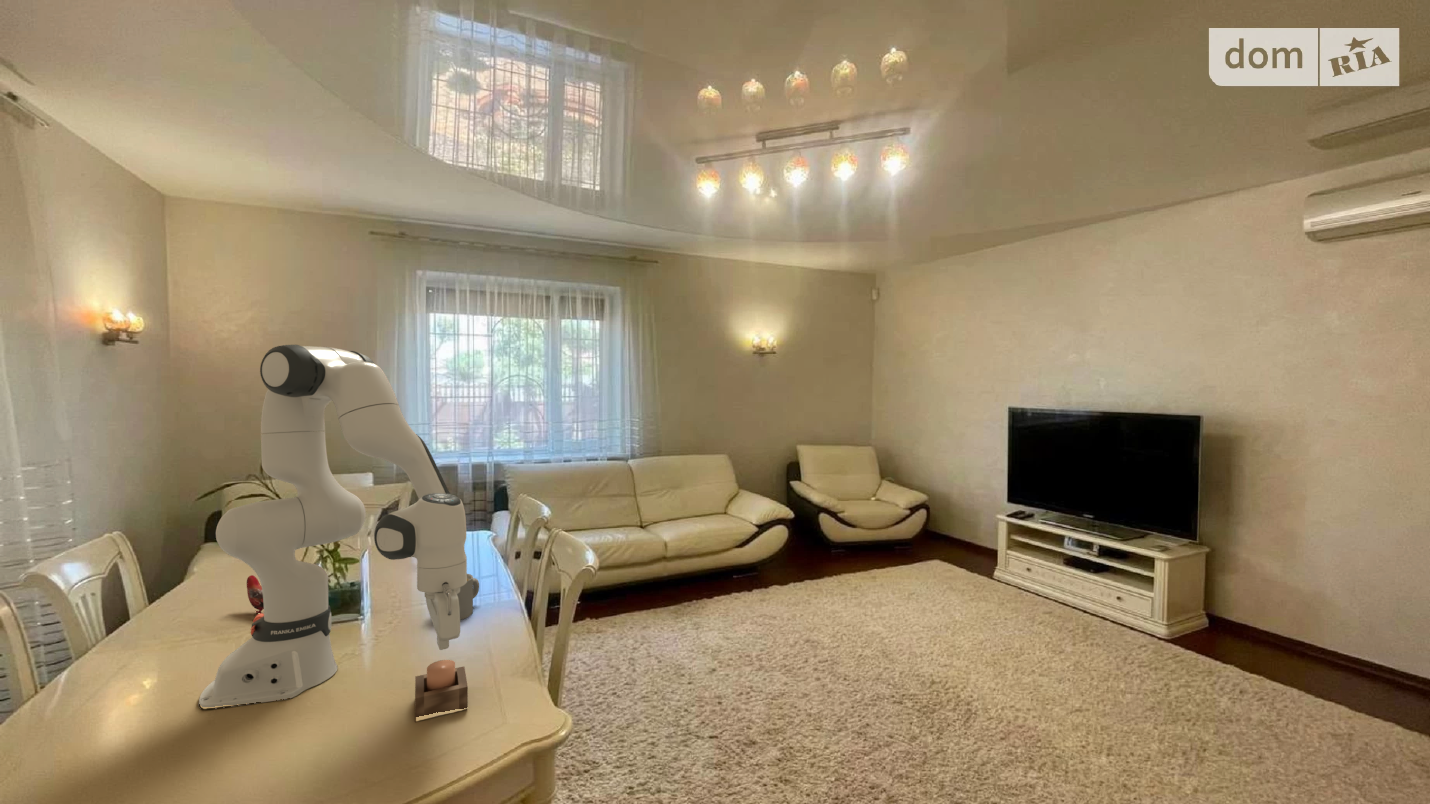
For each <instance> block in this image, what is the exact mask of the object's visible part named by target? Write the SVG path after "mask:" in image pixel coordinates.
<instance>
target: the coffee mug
mask: <svg viewBox="0 0 1430 804" xmlns="http://www.w3.org/2000/svg"><path fill="white" fill-rule="evenodd" d="M479 592H480V582H479V580H478V579H477V578H475V577H474V576H473V575H472V574H470V573H467V582H466V584H465V585H463V586H461V587H460V592H459V593H458V594H457V596H458V600H459V609H460V621H461V620H465V619H467V618H469V617H471V616H472V615H473V612H474V599H475V598H476V597H477V596H478V594H479Z"/></svg>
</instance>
